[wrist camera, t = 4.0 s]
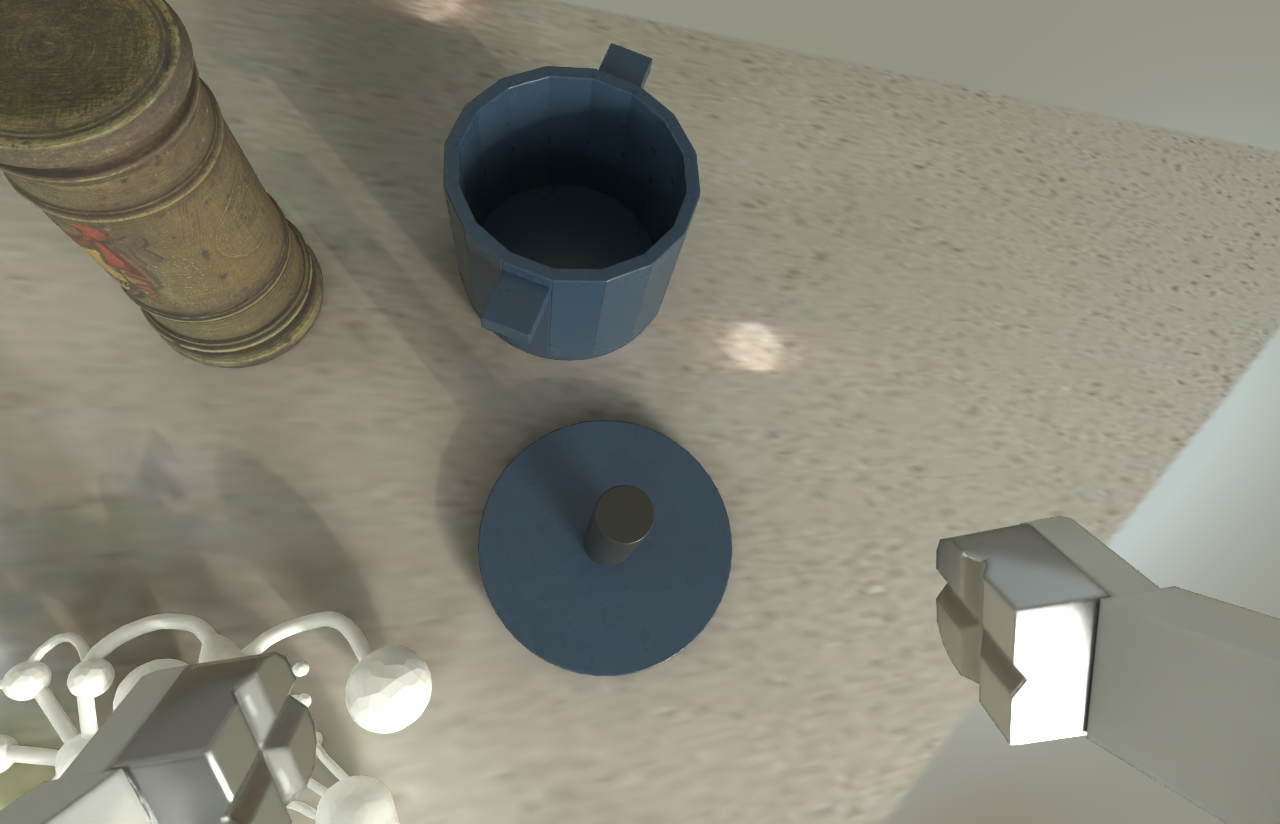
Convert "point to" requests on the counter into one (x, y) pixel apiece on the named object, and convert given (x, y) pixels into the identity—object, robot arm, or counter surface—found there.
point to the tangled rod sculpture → (375, 691)
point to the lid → (605, 548)
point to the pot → (569, 205)
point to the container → (150, 176)
